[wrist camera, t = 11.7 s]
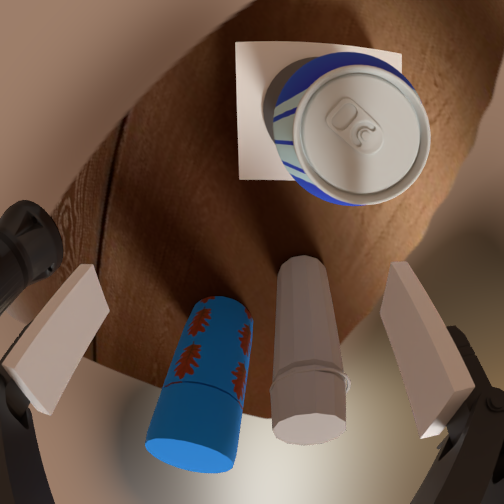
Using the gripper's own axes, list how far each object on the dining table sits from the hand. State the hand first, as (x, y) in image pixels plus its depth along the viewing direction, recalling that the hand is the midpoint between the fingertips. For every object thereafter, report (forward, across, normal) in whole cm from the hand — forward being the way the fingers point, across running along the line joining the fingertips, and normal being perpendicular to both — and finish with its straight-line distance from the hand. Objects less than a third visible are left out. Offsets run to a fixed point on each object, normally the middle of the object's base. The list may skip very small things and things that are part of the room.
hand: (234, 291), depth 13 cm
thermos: (+28, -8, -27) cm, 39 cm away
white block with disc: (+28, +6, +6) cm, 29 cm away
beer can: (+19, +6, +6) cm, 21 cm away
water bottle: (+28, +6, -18) cm, 34 cm away
